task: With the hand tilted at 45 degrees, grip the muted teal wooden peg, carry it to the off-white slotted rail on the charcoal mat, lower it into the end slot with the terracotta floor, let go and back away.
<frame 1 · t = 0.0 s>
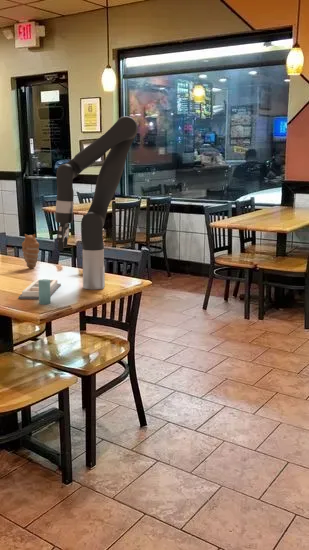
hand: (62, 248, 232), 17 cm above the table, tool pointing down, fingers open, 8 cm apart
cat ice cream: (31, 268, 276), on the table
teal peg: (44, 303, 209), on the table
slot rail: (40, 291, 227), on the table
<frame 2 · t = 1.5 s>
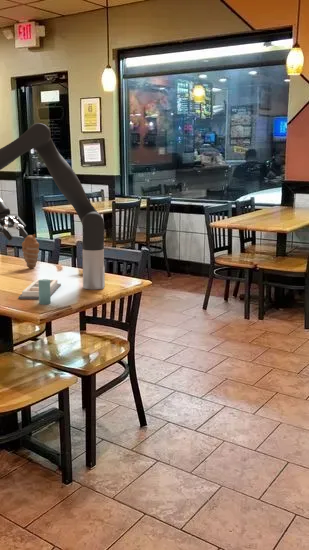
hand: (19, 238, 209), 25 cm above the table, tool tilted 45°, fingers open, 8 cm apart
nothing on the table moved.
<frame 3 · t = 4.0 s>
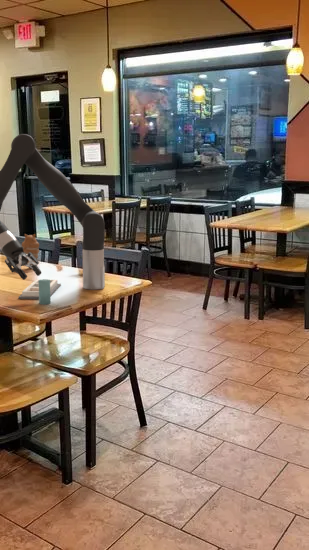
hand: (32, 276, 209), 10 cm above the table, tool tilted 45°, fingers open, 8 cm apart
nothing on the table moved.
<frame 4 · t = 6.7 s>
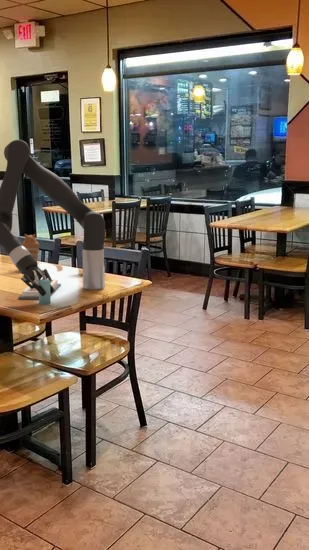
hand: (48, 293, 207), 4 cm above the table, tool tilted 45°, fingers closed on teal peg, 4 cm apart
teal peg: (44, 302, 209), on the table, touching gripper
everything else where it was.
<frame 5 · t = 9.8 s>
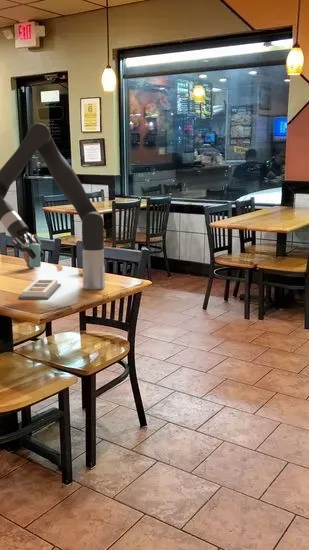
hand: (38, 256, 215), 17 cm above the table, tool tilted 45°, fingers closed on teal peg, 4 cm apart
teal peg: (35, 266, 217), point 12 cm above the table, touching gripper
everything else where it was.
when the fingers open (5 cm above the table, at t = 12.7 s): teal peg stays where it is, resting on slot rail.
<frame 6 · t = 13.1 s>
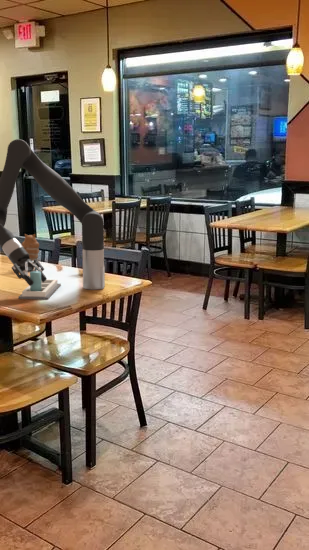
hand: (38, 282, 217), 6 cm above the table, tool tilted 45°, fingers open, 8 cm apart
teal peg: (36, 293, 219), point 1 cm above the table, touching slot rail
everything else where it was.
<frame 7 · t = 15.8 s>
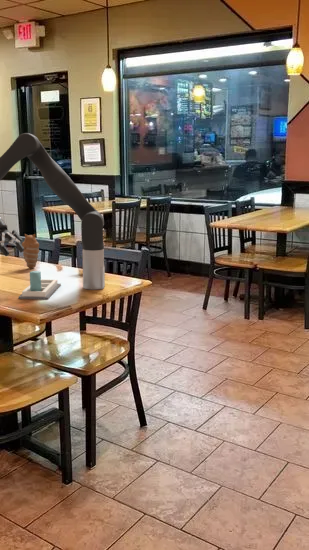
hand: (15, 253, 222), 17 cm above the table, tool tilted 45°, fingers open, 8 cm apart
nothing on the table moved.
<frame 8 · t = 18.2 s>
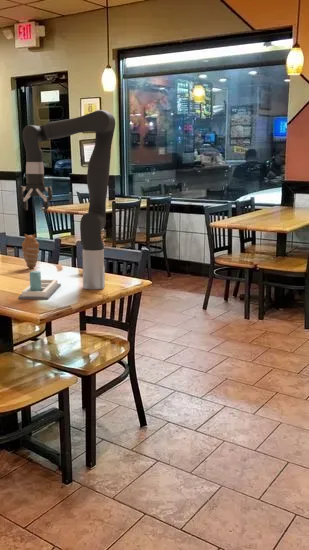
hand: (36, 210, 236), 33 cm above the table, tool pointing down, fingers open, 8 cm apart
nothing on the table moved.
at the end: teal peg 0.1 cm from the target spot on the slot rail, point 1.0 cm above the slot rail's base; teal peg tilted 1°; the gripper is holding nothing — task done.
